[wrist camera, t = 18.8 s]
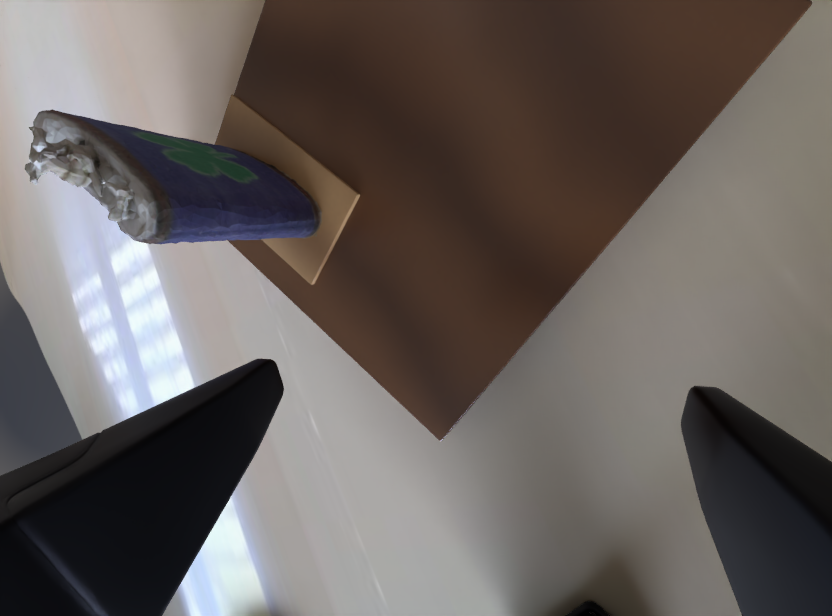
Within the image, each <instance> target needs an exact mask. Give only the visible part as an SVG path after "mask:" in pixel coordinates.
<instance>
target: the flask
mask: <svg viewBox="0 0 832 616" xmlns="http://www.w3.org/2000/svg"><path fill="white" fill-rule="evenodd" d="M33 123H34V127H29V128H30V130H32V132H33V135H34V139H33V143H31V151H30V155H29V159H30V163H28V164H26V165H25V170H26V172H27V173H28V174H29V176H30V182H32V183H34V184H37V183H38V178H39V177H40V176H41V175H43V174H46V173H48V172H49V171H51V172H53V173H54V174H55V175H56V176H59V177H60V178H61V179H62V180H64V181H67V182H68V183H70V184H72V185H76V186H77V187H83V188H84V189H86V190H87V191H88V192H89V193H90V194H91V195H92V196H93V197H95V198H96V199H97V200H98V201H99V202H100V204H101V205H102V206H104V207H105V208H106V209H108V211H109V212H110V213H109V216H108V218H109V220H112V221H115V222H117V223H118V225H119V227H120V230H121V231H123V232H124V233H125V234H127V235H129V236H130V237H131V238H132V239H133V240H135V241H139V242H144V243H149V244H151V243H154V244H165V243H178V242H191V243H193V242H203V241H224V240H260V239H270V238H309V237H311V236H317V231H318V229H319V228H320V225H321V223H322V219H321V214H322V212H321V210H320V208H319V206H318V203H317V202H316V201H315V200H314V199H313V197H312V196H311V195H310V193H309V192H308V191H306V190H305V189H304V188H303V187H301V186H300V185H299V184H298V183H297V182H296V181H295V180H294V179H292V178H290V177H289V175H288V174H286V173H285V172H283V171H280V170H279V169H277V168H276V167H275V166H273V165H271V164H267V163H265V162H264V161H261V160H259V159H257V158H255V157H254V156H250V155H248V154H246V153H244V152H242V151H239V150H236V149H232V148H229V147H225V146H222V145H213V144H208V143H202V142H198V141H194V140H189V139H184V138H178V137H173V136H168V135H163V134H159V133H154V132H151V131H145V130H141V129H138V128H134V127H129V126H124V125H117V124H112V123H108V122H104V121H99V120H94V119H90V118H86V117H82V116H76V115H71V114H67V113H62V112H59V111H55V110H50V111H47V110H46V111H41V112H39V113H38V115H37V117H36V118H35V120H34V122H33Z"/></svg>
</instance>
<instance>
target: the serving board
mask: <svg viewBox="0 0 832 616" xmlns="http://www.w3.org/2000/svg"><path fill="white" fill-rule="evenodd" d="M811 5H812V1H810V0H266V1H265V4H264V7H263V10H262V12H261V15H260V18H259V21H258V24H257V27H256V30H255V33H254V36H253V39H252V42H251V45H250V48H249V51H248V54H247V57H246V60H245V63H244V66H243V69H242V72H241V75H240V78H239V81H238V84H237V87H236V90H235V93H234V95H231V97H230V100H229V103H228V106H227V109H226V112H225V115H224V118H223V121H222V124H221V127H220V130H219V133H218V136H217V139H216V142H215V145H222V146H225V147H229V148H232V149H236V150H239V151H242V152H244V153H246V154H248V155H250V156H254V157H255V158H257V159H259V160H261V161H264V162H265V163H267V164H271V165H273V166H275V167H276V168H277V169H279V170H280V171H283V172H285V173H286V174H288V175H289V177H290V178H292V179H294V180H295V181H296V182H297V183H298V184H299V185H300V186H301V187H303V188H304V189H305V190H306V191H308V192H309V193H310V195H311V196H312V197H313V199H314V200H315V201H316V202H317V203H318V206H319V208H320V210H321V212H322V214H321V219H322V223H321V225H320V228H319V229H318V231H317V236H311V237H309V238H270V239H260V240H228V241H229V242H230V243H231V244H232V245H233V246H234V247H235V248H236V249H237V250H238V251H239V252H241V253H242V254H243V255H244V256H245V257H246V258H247V259H248V260H249V261H250V262H251V263H252V264H253V265H254V266H255V267H256V268H257V269H258V270H260V271H261V272H262V273H263V274H264V275H265V276H266V277H267V278H268V279H269V280H270V281H271V282H272V283H273V284H274V285H275V286H276V287H278V288H279V289H280V290H281V291H282V292H283V293H284V294H285V295H286V296H287V297H288V298H289V299H290V300H291V301H292V302H293V303H294V304H296V305H297V306H298V307H299V308H300V309H301V310H302V311H303V312H304V313H305V314H306V315H307V316H308V317H309V318H310V319H311V320H312V321H313V322H315V323H316V324H317V325H318V326H319V327H320V328H321V329H322V330H323V331H324V332H325V333H326V334H327V335H328V336H329V337H330V338H331V339H333V340H334V341H335V342H336V343H337V344H338V345H339V346H340V347H341V348H342V349H343V350H344V351H345V352H346V353H347V354H348V355H349V356H351V357H352V358H353V359H354V360H355V361H356V362H357V363H358V364H359V365H360V366H361V367H362V368H363V369H364V370H365V371H366V372H367V373H368V374H370V375H371V376H372V377H373V378H374V379H375V380H376V381H377V382H378V383H379V384H380V385H381V386H382V387H383V388H384V389H385V390H386V391H388V392H389V393H390V394H391V395H392V396H393V397H394V398H395V399H396V400H397V401H398V402H399V403H400V404H401V405H402V406H403V407H404V408H406V409H407V410H408V411H409V412H410V413H411V414H412V415H413V416H414V417H415V418H416V419H417V420H418V421H419V422H420V423H421V424H422V425H423V426H425V427H426V428H427V429H428V430H429V431H430V432H431V433H432V434H433V435H434V436H435V437H436V438H437V439H438V440H439V441H442V440H443V439H444V438H445V437H446V435H447V434H448V433H449V432H450V431H451V430H452V428H453V427H454V426H455V425H456V424H457V423H458V421H459V420H460V419H461V418H462V417H463V416H464V414H465V413H466V412H467V411H468V410H469V408H470V407H471V406H472V405H473V404H474V403H475V401H476V400H477V399H478V398H479V397H480V395H481V394H482V393H483V392H484V391H485V390H486V388H487V387H488V386H489V385H490V384H491V382H492V381H493V380H494V379H495V378H496V377H497V375H498V374H499V373H500V372H501V371H502V370H503V368H504V367H505V366H506V365H507V364H508V362H509V361H510V360H511V359H512V358H513V357H514V355H515V354H516V353H517V352H518V351H519V349H520V348H521V347H522V346H523V345H524V344H525V342H526V341H527V340H528V339H529V338H530V337H531V335H532V334H533V333H534V332H535V331H536V329H537V328H538V327H539V326H540V325H541V324H542V322H543V321H544V320H545V319H546V318H547V316H548V315H549V314H550V313H551V312H552V311H553V309H554V308H555V307H556V306H557V305H558V304H559V302H560V301H561V300H562V299H563V298H564V296H565V295H566V294H567V293H568V292H569V291H570V289H571V288H572V287H573V286H574V285H575V283H576V282H577V281H578V280H579V279H580V278H581V276H582V275H583V274H584V273H585V272H586V271H587V269H588V268H589V267H590V266H591V265H592V263H593V262H594V261H595V260H596V259H597V258H598V256H599V255H600V254H601V253H602V252H603V250H604V249H605V248H606V247H607V246H608V245H609V243H610V242H611V241H612V240H613V239H614V237H615V236H616V235H617V234H618V233H619V232H620V230H621V229H622V228H623V227H624V226H625V225H626V223H627V222H628V221H629V220H630V219H631V217H632V216H633V215H634V214H635V213H636V212H637V210H638V209H639V208H640V207H641V206H642V204H643V203H644V202H645V201H646V200H647V199H648V197H649V196H650V195H651V194H652V193H653V192H654V190H655V189H656V188H657V187H658V186H659V184H660V183H661V182H662V181H663V180H664V179H665V177H666V176H667V175H668V174H669V173H670V171H671V170H672V169H673V168H674V167H675V166H676V164H677V163H678V162H679V161H680V160H681V159H682V157H683V156H684V155H685V154H686V153H687V151H688V150H689V149H690V148H691V147H692V146H693V144H694V143H695V142H696V141H697V140H698V138H699V137H700V136H701V135H702V134H703V133H704V131H705V130H706V129H707V128H708V127H709V126H710V124H711V123H712V122H713V121H714V120H715V118H716V117H717V116H718V115H719V114H720V113H721V111H722V110H723V109H724V108H725V107H726V105H727V104H728V103H729V102H730V101H731V100H732V98H733V97H734V96H735V95H736V94H737V92H738V91H739V90H740V89H741V88H742V87H743V85H744V84H745V83H746V82H747V81H748V80H749V78H750V77H751V76H752V75H753V74H754V72H755V71H756V70H757V69H758V68H759V67H760V65H761V64H762V63H763V62H764V61H765V59H766V58H767V57H768V56H769V55H770V54H771V52H772V51H773V50H774V49H775V48H776V47H777V45H778V44H779V43H780V42H781V41H782V39H783V38H784V37H785V36H786V35H787V34H788V32H789V31H790V30H791V29H792V28H793V26H794V25H795V24H796V23H797V22H798V21H799V19H800V18H801V17H802V16H803V15H804V13H805V12H806V11H807V10H808V9H809V7H810V6H811Z"/></svg>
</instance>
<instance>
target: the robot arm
mask: <svg viewBox="0 0 832 616" xmlns="http://www.w3.org/2000/svg"><path fill="white" fill-rule="evenodd" d="M283 391H284V387H283V383H282V380H281V376H280V373H279V370H278V367H277V364H276V363H275V361H274V360H271V359H256V360H253V361H251V362H249V363H247V364H245V365H243V366H241V367H238V368H236V369H234V370H232V371H230V372H228V373H225V374H223V375H221V376H219V377H217V378H215V379H213V380H210V381H208V382H206V383H204V384H202V385H200V386H198V387H195V388H193V389H191V390H189V391H187V392H185V393H182V394H180V395H178V396H176V397H174V398H172V399H170V400H167V401H165V402H163V403H161V404H159V405H157V406H154V407H152V408H150V409H148V410H146V411H144V412H142V413H139V414H137V415H135V416H133V417H131V418H129V419H127V420H124V421H122V422H120V423H118V424H116V425H114V426H111V427H109V428H107V429H105V430H103V431H102V432H101V433H96V434H94V435H92V436H90V437H88V438H85V439H83V440H81V441H79V442H77V443H75V444H72V445H70V446H68V447H66V448H64V449H61V450H59V451H57V452H55V453H52V454H50V455H48V456H46V457H43V458H41V459H39V460H36V461H34V462H32V463H29V464H27V465H25V466H22V467H20V468H18V469H15V470H13V471H11V472H8V473H6V474H3V475H1V476H0V616H162V615H163V613H164V611H165V610H166V608H167V606H168V604H169V603H170V601H171V599H172V597H173V596H174V594H175V592H176V591H177V589H178V587H179V585H180V584H181V582H182V580H183V578H184V577H185V575H186V573H187V571H188V570H189V568H190V566H191V565H192V563H193V561H194V559H195V558H196V556H197V554H198V552H199V551H200V549H201V547H202V546H203V544H204V542H205V540H206V539H207V537H208V535H209V533H210V532H211V530H212V528H213V527H214V525H215V523H216V521H217V520H218V518H219V516H220V514H221V513H222V511H223V509H224V507H225V506H226V504H227V502H228V501H229V499H230V497H231V495H232V494H233V492H234V490H235V488H236V487H237V485H238V483H239V482H240V480H241V478H242V476H243V475H244V473H245V471H246V469H247V468H248V466H249V464H250V463H251V461H252V459H253V457H254V455H255V454H256V452H257V450H258V448H259V446H260V444H261V442H262V440H263V438H264V435H265V433H266V431H267V429H268V427H269V424H270V422H271V420H272V418H273V416H274V413H275V411H276V409H277V407H278V405H279V402H280V400H281V398H282V396H283ZM681 429H682V434H683V438H684V442H685V446H686V450H687V454H688V458H689V462H690V466H691V470H692V474H693V478H694V482H695V486H696V490H697V494H698V497H699V501H700V504H701V508H702V511H703V513H704V516H705V519H706V522H707V525H708V527H709V530H710V532H711V535H712V538H713V540H714V543H715V545H716V548H717V551H718V553H719V556H720V559H721V561H722V564H723V566H724V569H725V572H726V574H727V577H728V579H729V582H730V585H731V587H732V590H733V593H734V595H735V598H736V600H737V603H738V606H739V608H740V611H741V613H742V616H832V462H831V461H829V460H828V459H826V458H825V457H823V456H822V455H820V454H819V453H817V452H816V451H814V450H812V449H811V448H809V447H808V446H806V445H805V444H803V443H802V442H800V441H799V440H797V439H796V438H794V437H793V436H791V435H790V434H788V433H786V432H785V431H783V430H782V429H780V428H779V427H777V426H776V425H774V424H773V423H771V422H770V421H768V420H767V419H765V418H764V417H762V416H761V415H759V414H757V413H756V412H754V411H753V410H751V409H750V408H748V407H747V406H745V405H744V404H742V403H741V402H739V401H738V400H736V399H735V398H733V397H731V396H730V395H728V394H727V393H725V392H724V391H722V390H721V389H719V388H716V387H704V386H694V387H692V388H691V389H690V390H689V393H688V396H687V400H686V404H685V407H684V411H683V415H682V419H681ZM589 612H593V613H595V614H596V615H593V614H591V613H589ZM566 616H610V615H609V614H608V613H607V612H606V611H604V610H603V609H602V608H601V607H600V606H599V605H598V604H596V603H594V602H592V601H587V602H585V603H583V604H582V605H580V606H579V607H577V608H576V609H574V610H573V611H572V612H570V613H569V614H567V615H566Z"/></svg>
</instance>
